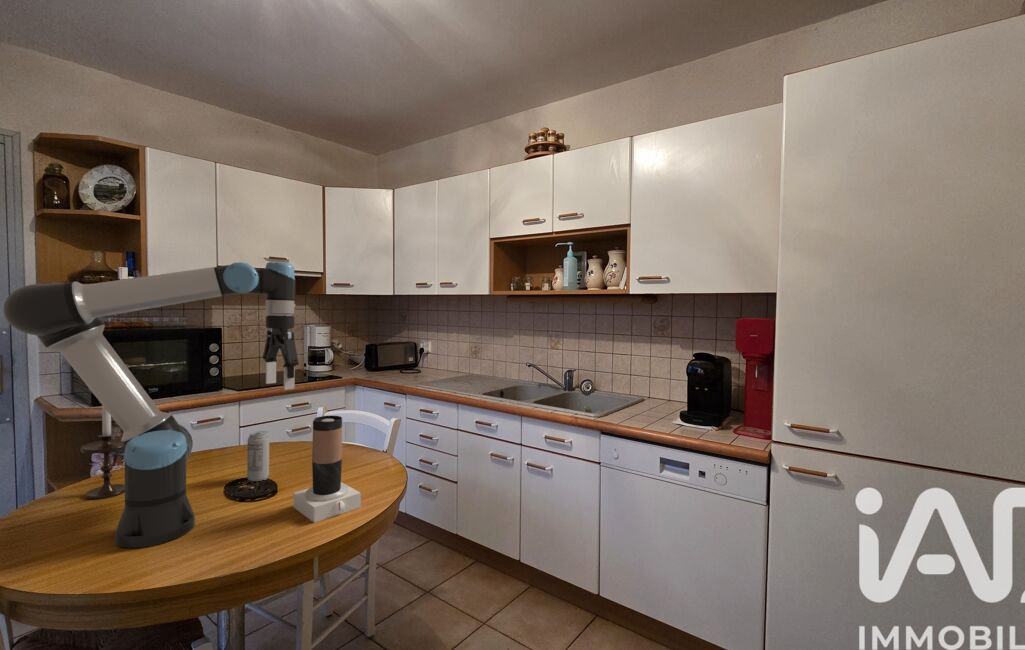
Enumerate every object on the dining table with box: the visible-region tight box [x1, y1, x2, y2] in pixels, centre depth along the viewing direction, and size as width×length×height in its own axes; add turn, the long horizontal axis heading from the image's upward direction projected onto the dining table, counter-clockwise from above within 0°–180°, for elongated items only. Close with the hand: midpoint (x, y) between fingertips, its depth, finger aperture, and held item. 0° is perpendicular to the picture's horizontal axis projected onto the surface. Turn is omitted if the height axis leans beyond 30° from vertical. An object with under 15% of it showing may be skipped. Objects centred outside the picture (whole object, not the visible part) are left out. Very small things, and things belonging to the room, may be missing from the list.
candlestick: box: [80, 404, 126, 501], centre depth 129 cm, size 11×11×35 cm
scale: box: [292, 481, 362, 524], centre depth 124 cm, size 13×14×5 cm
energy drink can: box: [246, 430, 270, 482], centre depth 142 cm, size 6×6×15 cm
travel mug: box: [311, 415, 343, 495], centre depth 124 cm, size 8×8×20 cm
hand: (279, 386), depth 133 cm, fingers open, 13 cm apart
